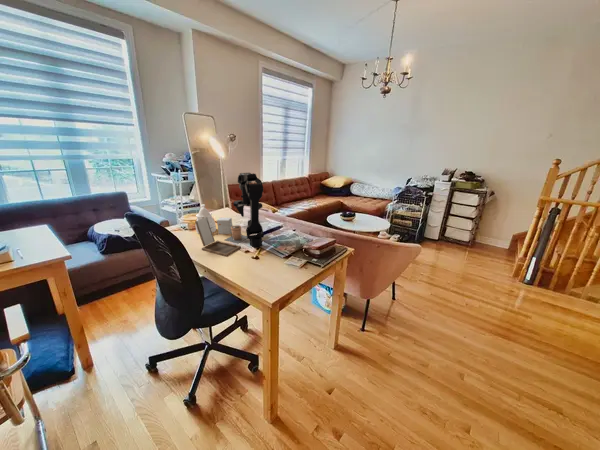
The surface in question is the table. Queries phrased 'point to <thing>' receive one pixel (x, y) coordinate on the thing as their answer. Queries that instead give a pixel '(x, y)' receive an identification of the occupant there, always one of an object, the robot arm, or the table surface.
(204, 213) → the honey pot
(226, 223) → the small box
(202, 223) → the propped lid
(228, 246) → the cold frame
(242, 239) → the slate tile
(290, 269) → the table surface
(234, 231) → the terracotta pot
